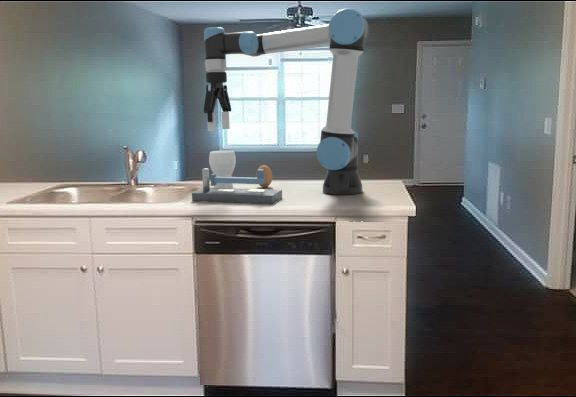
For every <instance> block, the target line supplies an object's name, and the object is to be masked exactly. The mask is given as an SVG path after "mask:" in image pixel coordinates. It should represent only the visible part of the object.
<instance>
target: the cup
mask: <svg viewBox="0 0 576 397" xmlns="http://www.w3.org/2000/svg"><path fill="white" fill-rule="evenodd" d="M208 157H209V158H208V164H209V167H210V170H211V172H212V174H216V177H233V172H234V171H235V168H236V163H237V158H236V153H235V151H234V150H212V151H210V152H209V156H208ZM213 188H234V184H232V183H217V185H215V186H213Z"/></svg>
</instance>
